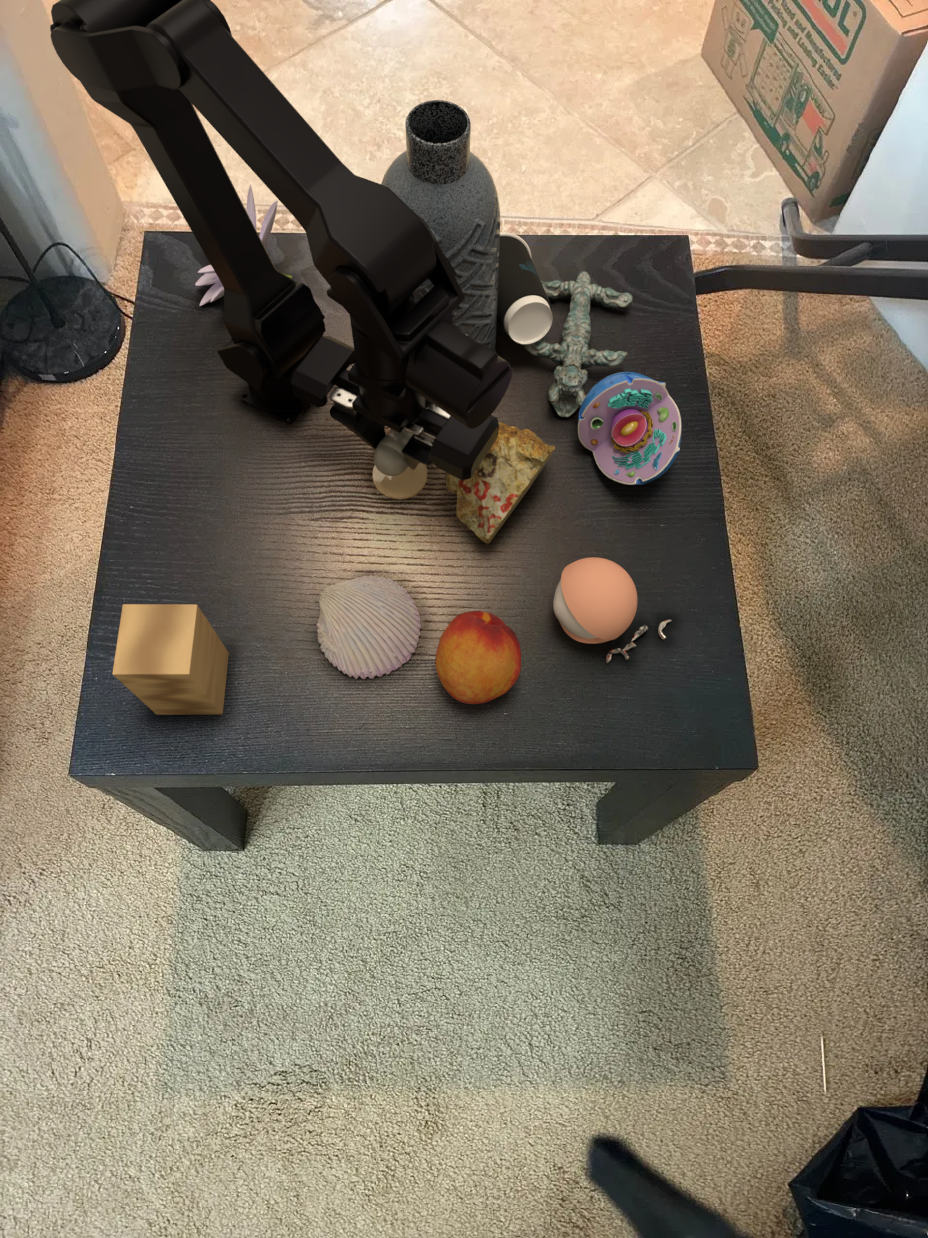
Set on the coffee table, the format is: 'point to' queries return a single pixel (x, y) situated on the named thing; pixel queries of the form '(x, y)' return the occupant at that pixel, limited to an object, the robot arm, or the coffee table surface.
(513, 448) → the rock
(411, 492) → the coaster
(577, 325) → the sculpture
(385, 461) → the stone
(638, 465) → the cell model
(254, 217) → the water lily
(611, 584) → the toy ball
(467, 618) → the fruit
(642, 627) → the toy
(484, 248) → the vase
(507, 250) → the dixie cup
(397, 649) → the seashell
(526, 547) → the coffee table surface
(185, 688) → the stand
